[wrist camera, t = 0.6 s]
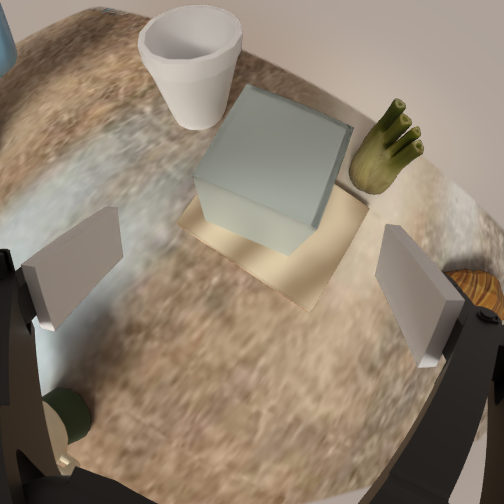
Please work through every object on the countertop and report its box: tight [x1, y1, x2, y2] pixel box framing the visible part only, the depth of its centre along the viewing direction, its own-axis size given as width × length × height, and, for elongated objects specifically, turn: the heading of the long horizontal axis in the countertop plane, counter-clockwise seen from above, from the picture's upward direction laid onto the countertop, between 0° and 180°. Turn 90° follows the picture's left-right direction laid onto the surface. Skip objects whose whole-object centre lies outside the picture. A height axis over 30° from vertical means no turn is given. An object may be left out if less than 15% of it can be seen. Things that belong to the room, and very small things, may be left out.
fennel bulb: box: [349, 99, 424, 195], centre depth 29 cm, size 6×5×12 cm
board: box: [176, 184, 370, 311], centre depth 33 cm, size 16×13×1 cm
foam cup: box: [138, 5, 242, 130], centre depth 29 cm, size 10×9×13 cm
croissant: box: [445, 269, 504, 321], centre depth 31 cm, size 14×7×5 cm, turn 65°
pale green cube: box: [193, 84, 354, 257], centre depth 27 cm, size 9×9×11 cm
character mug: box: [42, 388, 91, 475], centre depth 21 cm, size 11×7×13 cm, turn 67°
